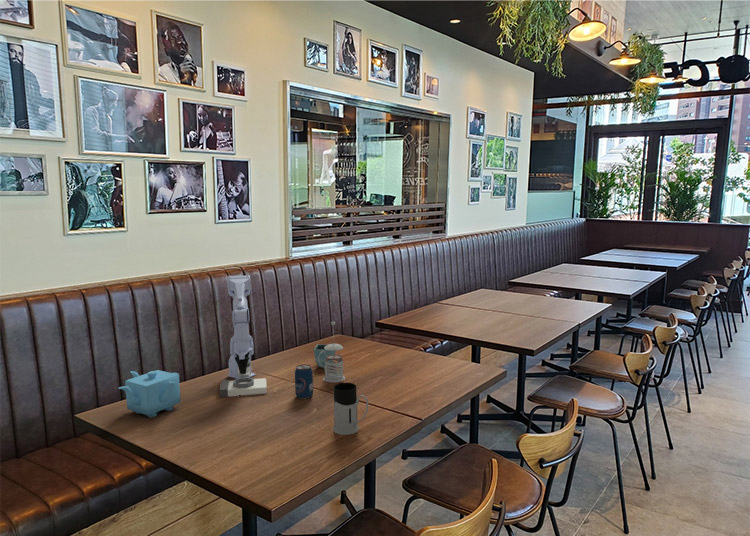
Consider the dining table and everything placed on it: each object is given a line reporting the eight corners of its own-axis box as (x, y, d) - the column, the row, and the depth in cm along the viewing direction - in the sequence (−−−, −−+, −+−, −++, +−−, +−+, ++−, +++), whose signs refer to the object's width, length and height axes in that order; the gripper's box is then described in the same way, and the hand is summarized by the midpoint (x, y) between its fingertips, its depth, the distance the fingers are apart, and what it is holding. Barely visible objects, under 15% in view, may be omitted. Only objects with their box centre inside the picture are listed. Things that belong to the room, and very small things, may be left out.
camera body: (220, 397, 212) (219, 387, 212) (221, 387, 223) (221, 378, 223) (266, 393, 216) (266, 383, 216) (266, 383, 227) (265, 374, 226)
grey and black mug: (345, 421, 189) (344, 380, 187) (376, 432, 180) (376, 389, 178) (327, 429, 183) (326, 387, 180) (359, 442, 174) (358, 397, 172)
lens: (235, 375, 218) (234, 363, 217) (244, 372, 222) (244, 360, 222) (244, 378, 215) (243, 365, 215) (253, 375, 220) (253, 362, 219)
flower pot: (336, 363, 254) (336, 344, 252) (333, 369, 245) (332, 350, 244) (317, 362, 255) (317, 344, 253) (313, 368, 246) (313, 349, 245)
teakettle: (182, 399, 211) (180, 362, 209) (178, 418, 193) (175, 378, 191) (130, 404, 206) (127, 366, 204) (120, 424, 188) (117, 383, 186)
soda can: (291, 397, 212) (290, 368, 210) (302, 391, 218) (301, 362, 216) (306, 400, 208) (305, 370, 207) (316, 394, 214) (316, 365, 213)
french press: (344, 382, 228) (343, 324, 224) (317, 382, 228) (315, 324, 225) (346, 374, 238) (345, 318, 234) (320, 374, 238) (318, 319, 234)
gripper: (251, 342, 210) (253, 376, 212) (252, 333, 225) (253, 365, 226) (233, 344, 209) (234, 378, 211) (234, 334, 223) (235, 366, 225)
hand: (243, 371), depth 219 cm, fingers closed on lens, 5 cm apart
